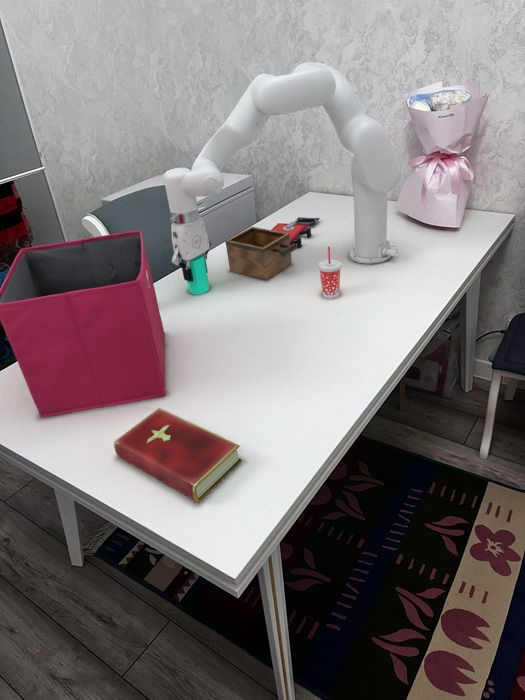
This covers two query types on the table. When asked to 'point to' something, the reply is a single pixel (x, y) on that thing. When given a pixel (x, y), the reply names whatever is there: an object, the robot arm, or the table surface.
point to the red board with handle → (296, 229)
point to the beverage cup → (330, 277)
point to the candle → (198, 276)
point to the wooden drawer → (259, 252)
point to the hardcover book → (178, 453)
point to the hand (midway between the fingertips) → (196, 275)
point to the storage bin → (85, 323)
